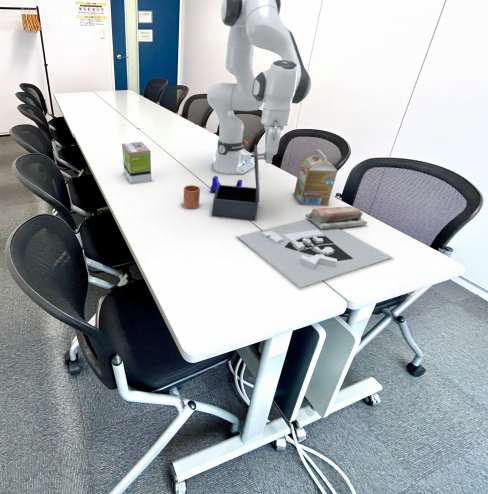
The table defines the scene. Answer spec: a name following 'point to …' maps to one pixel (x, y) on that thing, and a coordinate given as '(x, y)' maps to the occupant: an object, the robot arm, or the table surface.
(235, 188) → the dark grey open box
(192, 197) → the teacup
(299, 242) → the architectural model
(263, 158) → the lid
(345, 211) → the packaged product
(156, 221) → the table surface
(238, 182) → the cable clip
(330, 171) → the milk carton
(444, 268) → the table surface
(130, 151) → the tea box
